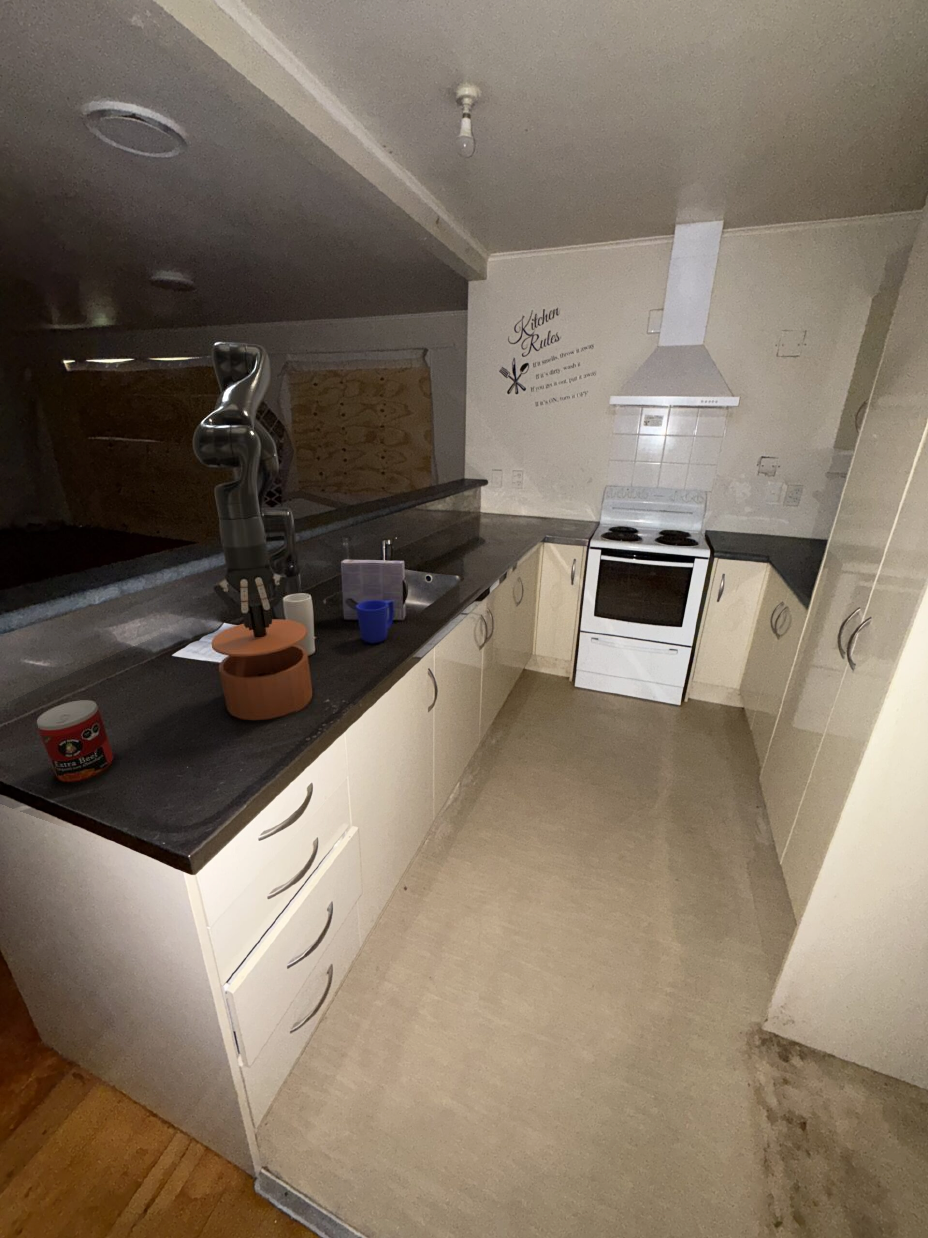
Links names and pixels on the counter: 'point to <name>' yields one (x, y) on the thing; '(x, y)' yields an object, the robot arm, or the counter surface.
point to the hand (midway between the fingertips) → (258, 627)
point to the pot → (266, 683)
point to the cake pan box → (373, 585)
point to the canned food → (75, 740)
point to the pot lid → (258, 636)
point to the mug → (374, 619)
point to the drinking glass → (301, 617)
